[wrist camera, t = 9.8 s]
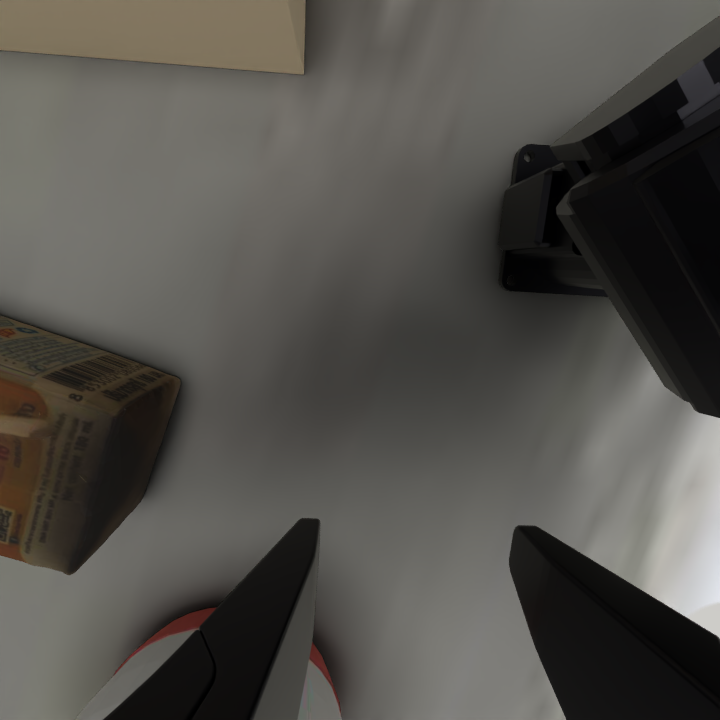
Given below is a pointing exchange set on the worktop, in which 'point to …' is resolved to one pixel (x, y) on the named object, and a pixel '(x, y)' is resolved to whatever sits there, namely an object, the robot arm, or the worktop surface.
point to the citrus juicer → (318, 696)
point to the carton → (162, 31)
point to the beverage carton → (72, 443)
